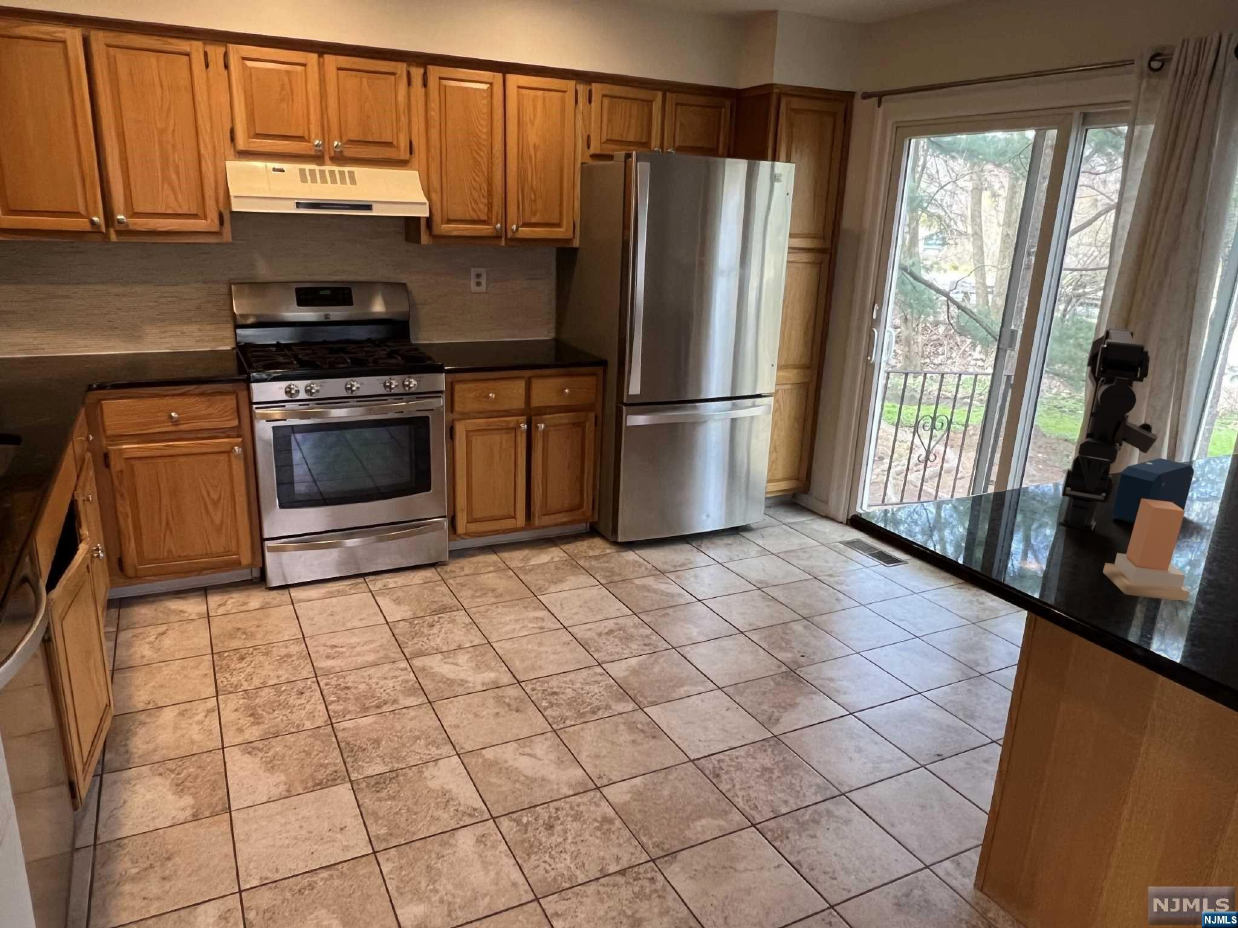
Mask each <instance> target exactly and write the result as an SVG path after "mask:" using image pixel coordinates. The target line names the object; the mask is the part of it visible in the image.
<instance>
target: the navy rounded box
mask: <svg viewBox="0 0 1238 928" xmlns="http://www.w3.org/2000/svg"><path fill="white" fill-rule="evenodd" d="M1179 432H1180V429H1177V432H1176V436H1175V440H1174V444H1173V448H1172V452H1171V456H1170V459H1165V458H1161V457H1158V458H1155V459H1152V460H1147V461H1144V462H1140V463H1135V464H1131V465H1128V466H1126V467H1125V468H1124V469H1123V470H1121V474H1120V477H1119V482H1118V486H1117V490H1116V493H1115V494H1116V495H1115V500H1114V503H1113V506H1112V507H1113V508H1112V512H1111V516H1112V517H1113V518H1114V519H1115V520H1117V519H1118V521H1121V520H1122V522H1124V521H1125V523H1129V524H1131V523H1132V524H1131V525H1134V524H1135V521H1136V517H1137V513H1138V510H1139V506H1140V502H1141V499H1150V500H1158V501H1166V502H1172V503H1174V504H1175V505H1177V506H1178V507H1180V508H1181V509H1183V510H1184V511H1185V509H1186V505H1187V500H1188V498H1189V493H1190V489H1191V485H1192V483H1193V477H1194V474H1195V469H1194V468H1193V466H1192V465H1191V464H1186V463H1182V462H1178V461H1174V460H1173V456H1174V455H1173V454H1174V451H1175V448H1176V442H1177V439H1178V435H1179Z"/></svg>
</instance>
